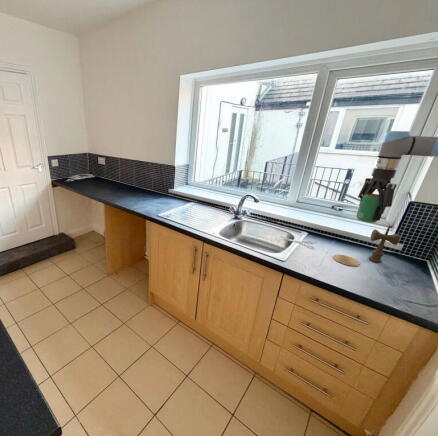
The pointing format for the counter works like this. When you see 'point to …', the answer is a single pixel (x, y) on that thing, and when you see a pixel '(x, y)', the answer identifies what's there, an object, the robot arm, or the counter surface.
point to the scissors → (302, 243)
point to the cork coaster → (346, 260)
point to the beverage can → (368, 208)
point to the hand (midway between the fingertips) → (367, 216)
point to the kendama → (382, 243)
